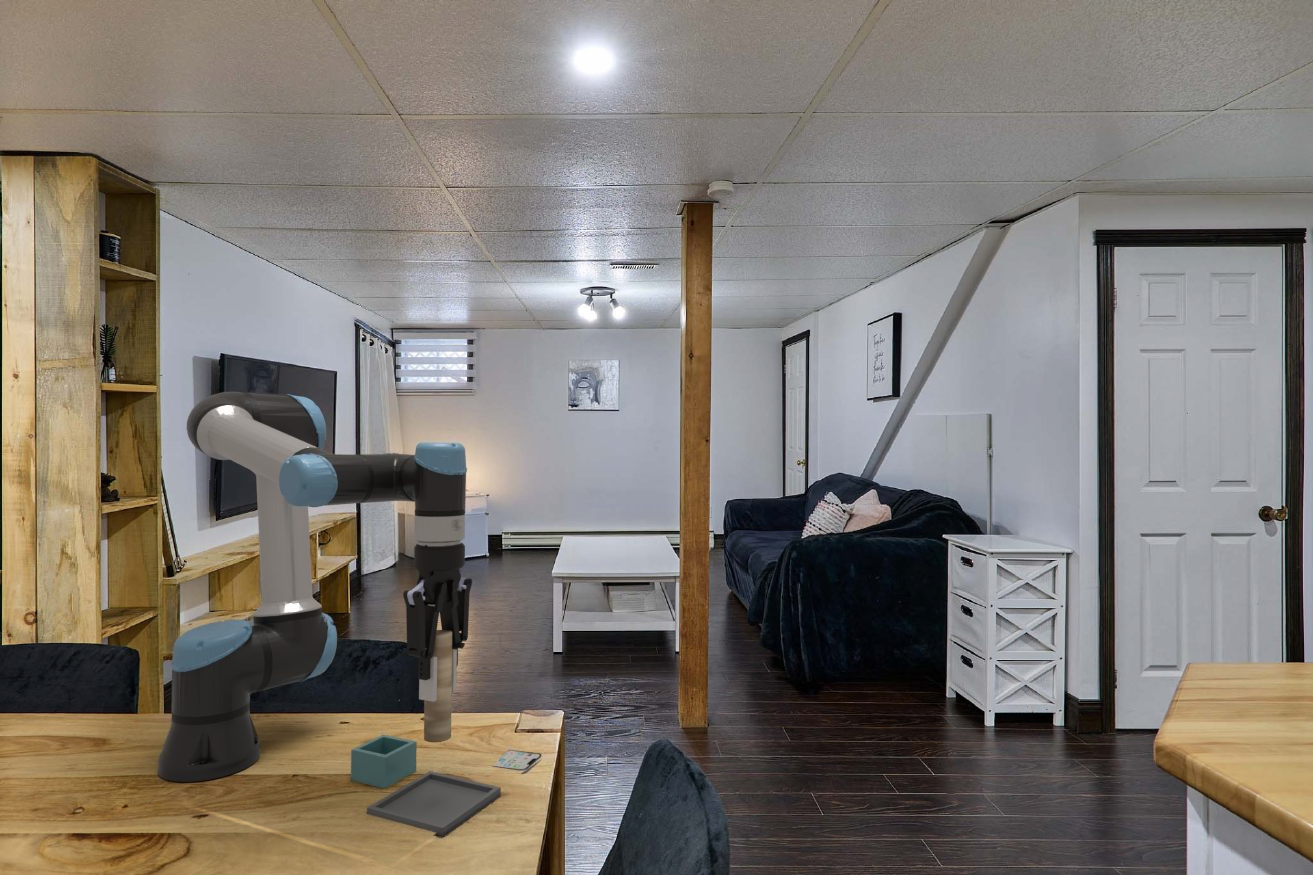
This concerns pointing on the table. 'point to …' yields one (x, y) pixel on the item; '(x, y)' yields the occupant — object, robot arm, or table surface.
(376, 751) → the teal open box
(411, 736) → the table surface
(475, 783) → the tray
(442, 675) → the dowel
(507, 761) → the smartphone
